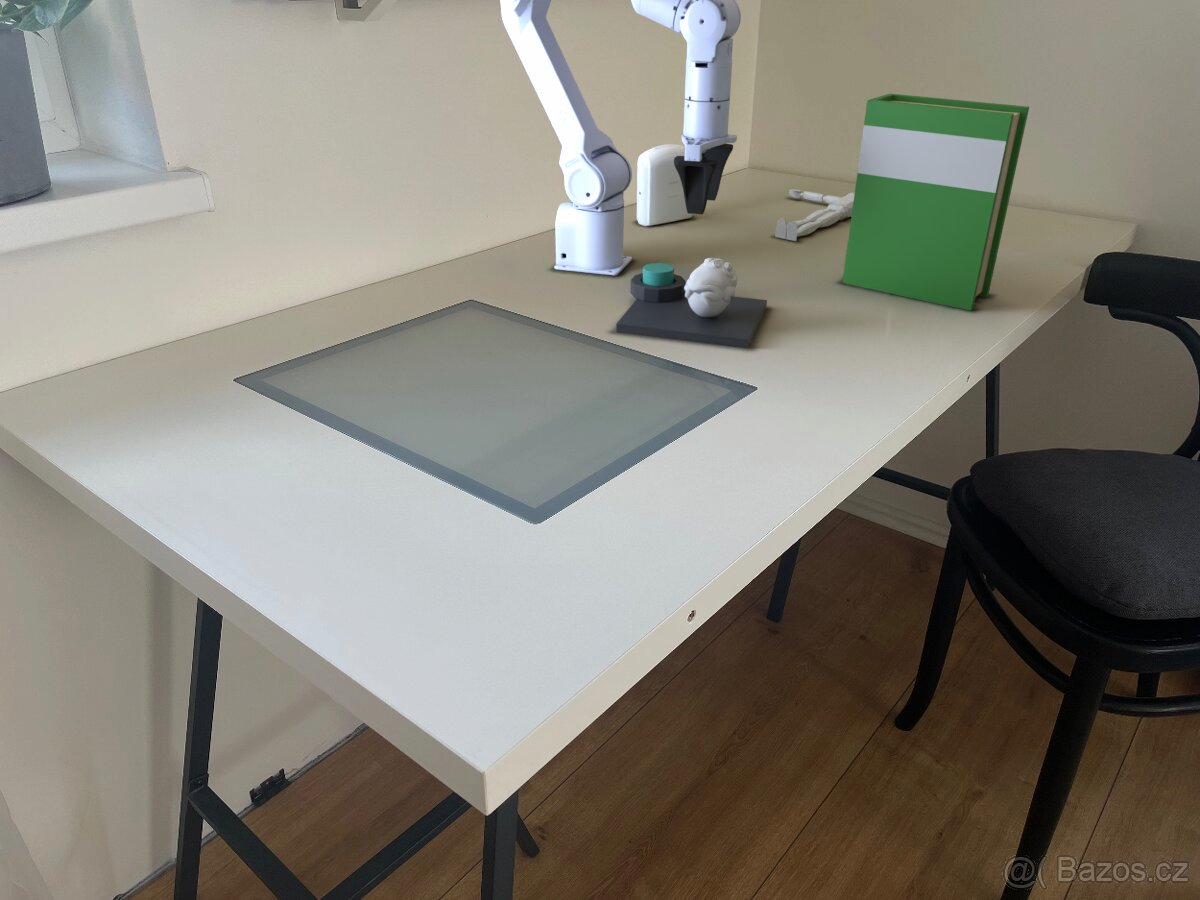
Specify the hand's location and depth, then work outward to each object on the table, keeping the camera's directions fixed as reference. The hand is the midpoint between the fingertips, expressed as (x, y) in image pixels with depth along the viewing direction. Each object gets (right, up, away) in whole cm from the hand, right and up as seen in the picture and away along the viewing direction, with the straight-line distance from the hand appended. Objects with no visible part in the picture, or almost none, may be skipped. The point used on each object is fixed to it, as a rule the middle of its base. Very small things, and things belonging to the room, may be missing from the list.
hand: (701, 206), depth 124 cm
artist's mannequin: (+26, +6, +33) cm, 42 cm away
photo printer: (-3, +6, +33) cm, 33 cm away
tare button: (-6, -11, -4) cm, 13 cm away
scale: (-2, -16, -7) cm, 18 cm away
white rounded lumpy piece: (0, -16, -10) cm, 19 cm away
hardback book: (+29, -11, +3) cm, 31 cm away
